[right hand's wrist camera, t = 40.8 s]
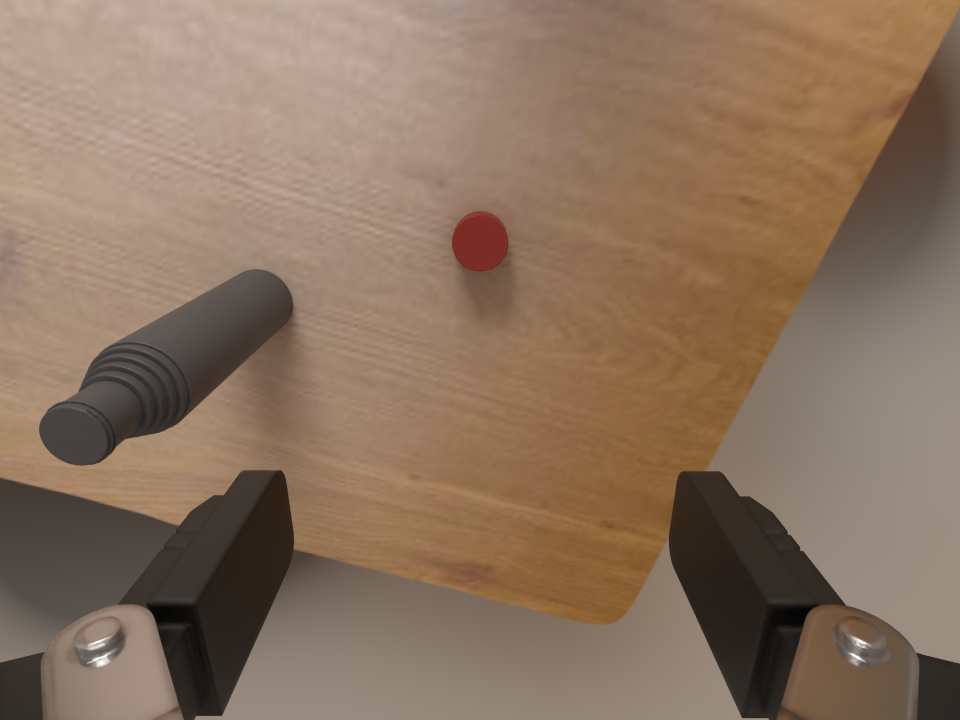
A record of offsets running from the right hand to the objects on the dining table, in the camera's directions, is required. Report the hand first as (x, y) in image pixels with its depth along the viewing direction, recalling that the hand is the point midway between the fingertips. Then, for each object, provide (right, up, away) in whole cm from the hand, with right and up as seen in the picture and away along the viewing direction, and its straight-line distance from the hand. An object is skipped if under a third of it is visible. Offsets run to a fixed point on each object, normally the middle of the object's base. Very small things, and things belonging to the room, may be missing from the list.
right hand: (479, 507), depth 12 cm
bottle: (-17, +8, +33) cm, 38 cm away
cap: (0, +11, +29) cm, 31 cm away
